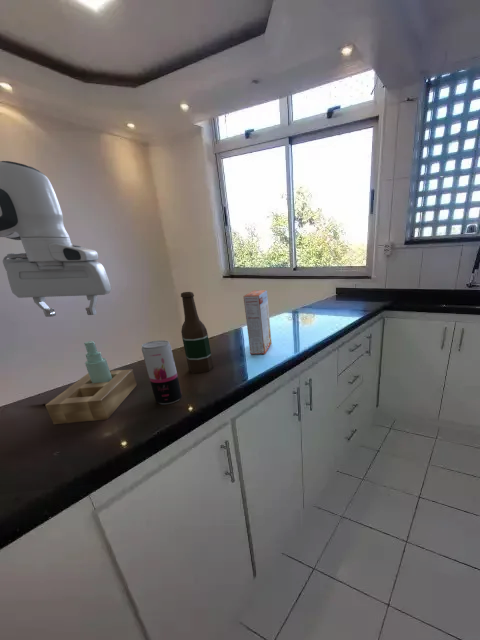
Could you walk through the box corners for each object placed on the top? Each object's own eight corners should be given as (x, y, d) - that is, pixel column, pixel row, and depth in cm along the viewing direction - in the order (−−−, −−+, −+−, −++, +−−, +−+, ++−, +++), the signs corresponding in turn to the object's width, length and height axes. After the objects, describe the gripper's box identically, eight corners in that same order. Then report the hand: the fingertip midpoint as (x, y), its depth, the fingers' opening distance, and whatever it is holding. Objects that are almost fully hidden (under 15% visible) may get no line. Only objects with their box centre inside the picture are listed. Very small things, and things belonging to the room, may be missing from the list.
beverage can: (171, 406, 78) (157, 348, 71) (150, 403, 79) (134, 347, 73) (187, 395, 83) (175, 340, 77) (167, 393, 85) (153, 339, 78)
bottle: (94, 400, 83) (74, 345, 76) (101, 392, 87) (83, 340, 80) (113, 398, 83) (94, 344, 77) (119, 391, 88) (103, 339, 81)
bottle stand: (53, 424, 71) (45, 405, 69) (94, 388, 90) (88, 372, 88) (107, 419, 73) (100, 400, 70) (136, 385, 91) (132, 369, 89)
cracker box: (257, 343, 126) (252, 289, 117) (272, 343, 126) (268, 289, 116) (249, 354, 114) (242, 295, 104) (265, 354, 113) (260, 294, 104)
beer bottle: (218, 367, 102) (206, 291, 92) (200, 375, 97) (184, 294, 86) (202, 363, 106) (188, 290, 96) (183, 371, 100) (167, 293, 90)
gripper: (-12, 253, 65) (16, 320, 71) (92, 251, 68) (110, 316, 74) (9, 253, 71) (33, 314, 77) (104, 251, 73) (120, 311, 79)
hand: (71, 315), depth 75 cm, fingers open, 8 cm apart
